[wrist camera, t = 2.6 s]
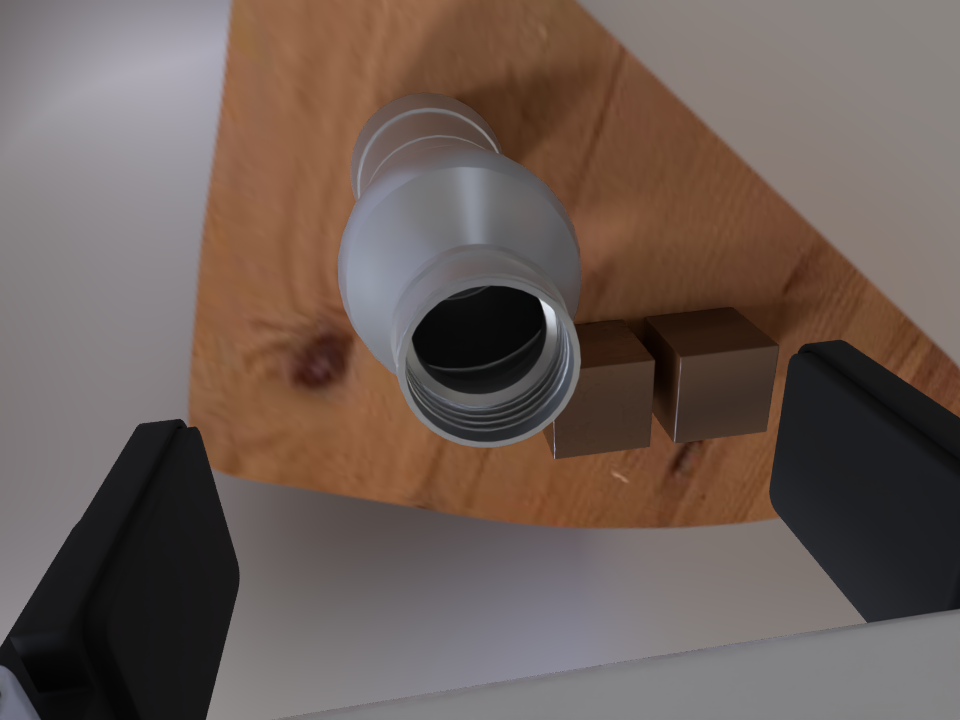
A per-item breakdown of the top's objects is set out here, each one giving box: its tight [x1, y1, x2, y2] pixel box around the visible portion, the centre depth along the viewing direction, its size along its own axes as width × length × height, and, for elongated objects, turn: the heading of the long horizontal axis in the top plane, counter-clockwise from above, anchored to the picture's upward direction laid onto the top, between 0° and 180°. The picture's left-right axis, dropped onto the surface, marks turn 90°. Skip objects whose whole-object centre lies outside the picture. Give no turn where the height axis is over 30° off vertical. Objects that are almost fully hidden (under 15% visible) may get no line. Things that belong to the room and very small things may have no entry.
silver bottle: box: [338, 93, 581, 447], centre depth 22 cm, size 6×7×20 cm
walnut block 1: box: [543, 320, 655, 459], centre depth 34 cm, size 5×5×5 cm
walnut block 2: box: [644, 308, 779, 443], centre depth 35 cm, size 5×5×5 cm
